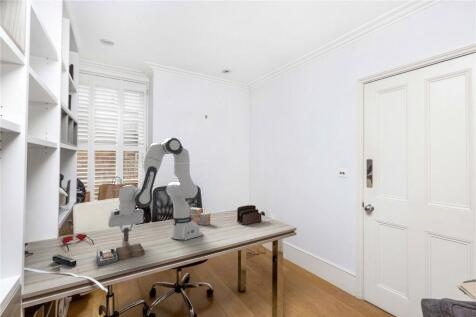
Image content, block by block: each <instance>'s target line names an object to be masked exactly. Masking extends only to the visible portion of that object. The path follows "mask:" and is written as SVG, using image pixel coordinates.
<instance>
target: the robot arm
mask: <svg viewBox="0 0 476 317" xmlns="http://www.w3.org/2000/svg"><path fill="white" fill-rule="evenodd" d="M165 155H172V156H173V159H174V160H173V163H174V164H173V174H174V176H175V177H176V178H177V179H178V181H174V182H173V181H172V182H170V183H168V184H166V185H167V186H166V187H165V190H166V194H167V195H168V196H169V197H170V199H171V202H172V205H173V206H172V207H173V217H172V232H171V235H170V238H172V239H175V240H185V241H187V240H191V239H193V238H197V237H200V236H203V235H204V234H203V231H201V230H200V229H201V228H200V226H199V224H196V223H194V222H193V221H192V220H194V217H191V216H189V208H190V205H189V203H188V202H187V201H186V199H192V198H194V197H196V196H197V194H198V191H199V190H198V186H197V185H196V183H194V181H193V179H192V177H191V170H190V168H191V167H190V164H191V163H190V162H191V161H190V154H189V150H188V149H186V148H184V147H183V145H182V143H181V140H179V139H178V138H176V137H169V138H166V139H164V140H163V141H162V142H160V143H152V144H151V145H150V146H149V147H148V150H147V152H146V154H145V156H144V160H143V169H144V179H143V182H142V186H141V187H140V188H139V187H137V186H134V185H133V184H126V185H123V186H122V187H120V189H119V193H118V201H119V204H118V207H117V208H115V209H112V210H111V211H110V215H109V216H108V222H107V225H108V228H115V227H116V228H117V227H119V229H120V232H121V234H122V233H123V234H124V228H123V226H129V227H128V228H129V233H131V232H132V229H133V227H134V225H136V224H142V223H144V214H145V213H144V211H145V210H144V209H142V208H146V207H149V206H150V205H151V204H152V201H153V193H152V192H153V189H154V188H153V187H154V184H155V180H156V177H157V175H158V172H159V170H160V168H161V166H162V163H163V158H164V157H165ZM135 205H136V206H137V207H139V208H137V209H136V208H135Z"/></svg>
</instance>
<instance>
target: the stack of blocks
mask: <svg viewBox="0 0 476 317" xmlns="http://www.w3.org/2000/svg"><path fill="white" fill-rule="evenodd" d="M189 216H191V217H194V220H192V221H193V222H194V223H196V224H197V225H202V226H208V225H210V224H211V212H206V211H203V207H202V208H201V207H193V206H191V207H189Z"/></svg>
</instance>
